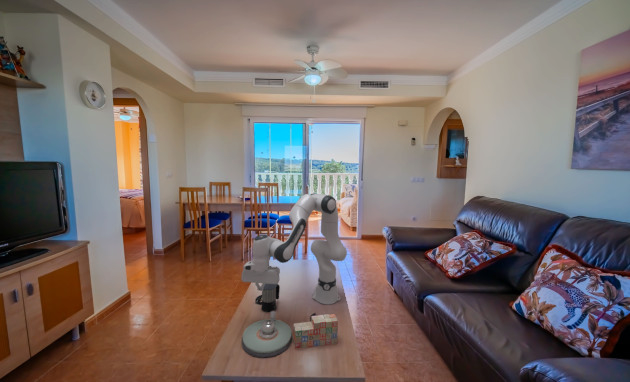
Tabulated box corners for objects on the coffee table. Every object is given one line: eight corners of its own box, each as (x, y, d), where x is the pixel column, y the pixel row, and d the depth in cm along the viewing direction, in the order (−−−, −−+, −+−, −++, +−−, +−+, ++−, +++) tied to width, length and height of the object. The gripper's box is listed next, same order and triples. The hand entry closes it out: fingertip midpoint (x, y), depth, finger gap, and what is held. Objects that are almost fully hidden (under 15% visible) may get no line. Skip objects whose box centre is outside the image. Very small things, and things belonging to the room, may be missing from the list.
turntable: (252, 320, 141) (252, 308, 141) (294, 323, 139) (295, 312, 139) (234, 350, 118) (235, 337, 117) (286, 355, 116) (286, 342, 115)
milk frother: (273, 313, 151) (273, 290, 150) (248, 310, 154) (248, 286, 153) (281, 301, 165) (281, 279, 164) (258, 298, 168) (258, 276, 167)
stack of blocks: (294, 349, 123) (295, 325, 122) (293, 340, 129) (293, 317, 128) (337, 343, 127) (338, 320, 126) (333, 335, 134) (334, 313, 132)
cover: (261, 327, 133) (261, 316, 132) (278, 328, 133) (279, 317, 132) (256, 338, 124) (257, 327, 124) (275, 340, 124) (275, 328, 123)
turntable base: (251, 322, 142) (251, 319, 142) (295, 326, 140) (295, 323, 140) (233, 355, 117) (233, 352, 117) (286, 360, 115) (287, 357, 115)
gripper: (281, 264, 139) (280, 288, 140) (244, 262, 140) (244, 286, 142) (278, 269, 132) (278, 294, 134) (240, 266, 134) (240, 291, 135)
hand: (260, 290), depth 138 cm, fingers closed
